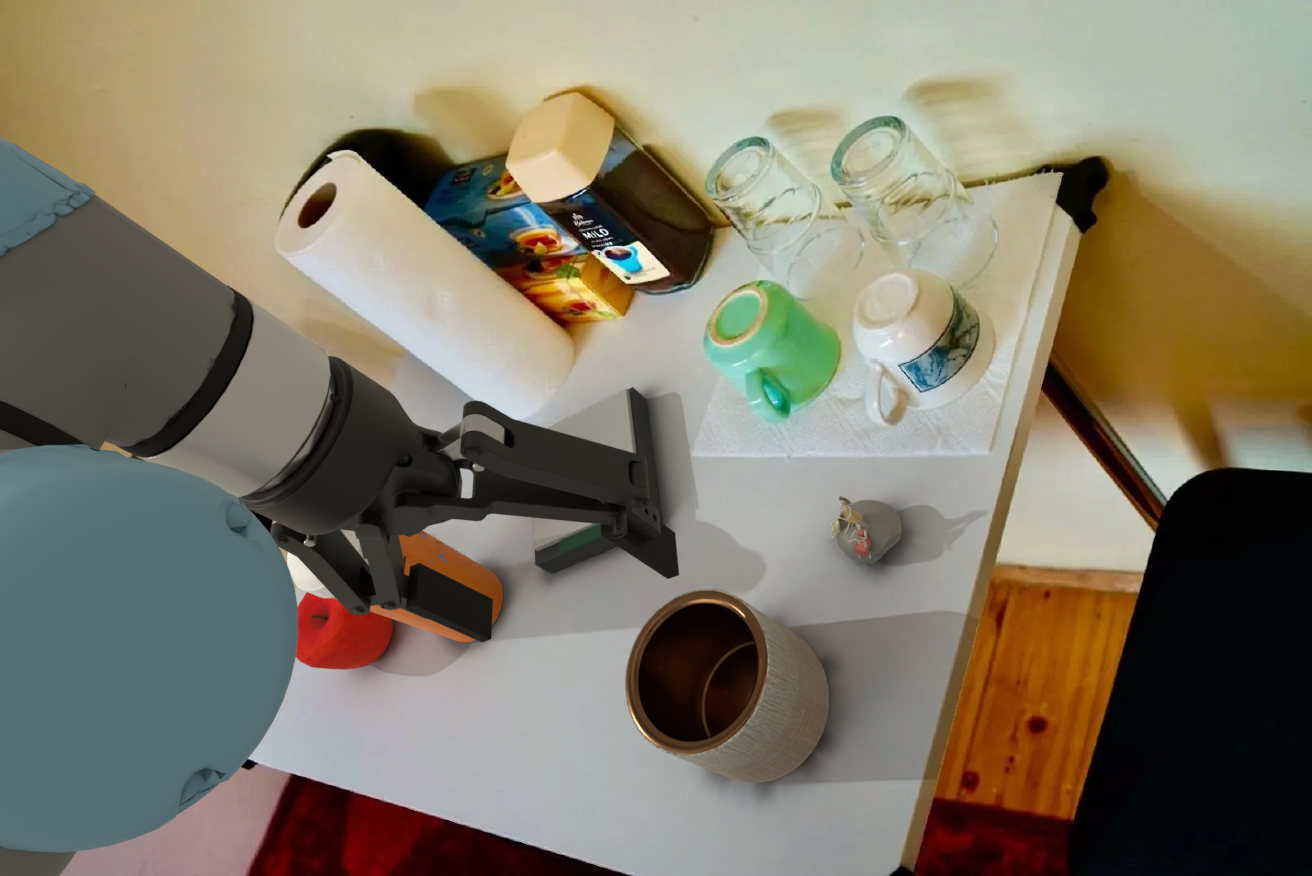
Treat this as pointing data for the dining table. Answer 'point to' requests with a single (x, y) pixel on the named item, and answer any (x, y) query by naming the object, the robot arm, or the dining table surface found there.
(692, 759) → the planter
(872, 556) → the figurine
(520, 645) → the dining table surface
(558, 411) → the dining table surface
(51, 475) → the robot arm
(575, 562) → the scale
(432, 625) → the shaker bottle
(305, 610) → the apple
